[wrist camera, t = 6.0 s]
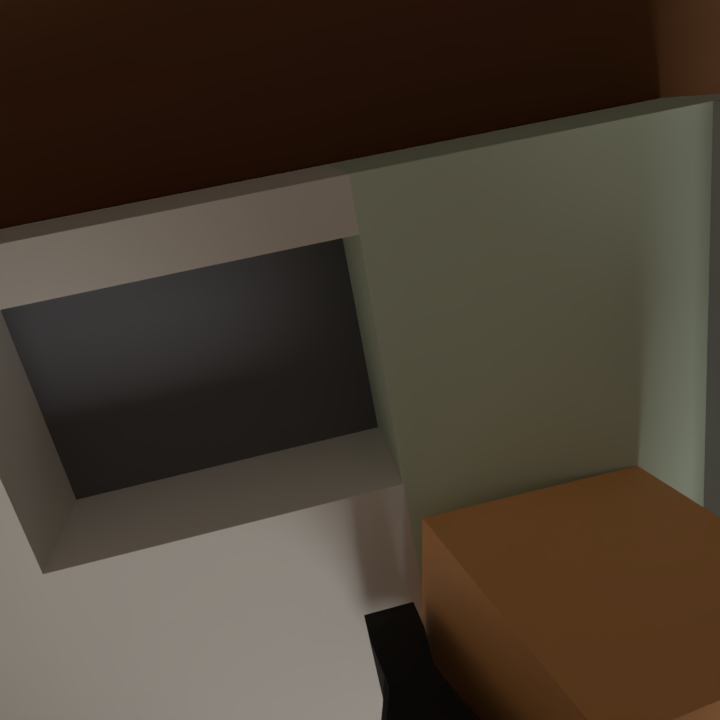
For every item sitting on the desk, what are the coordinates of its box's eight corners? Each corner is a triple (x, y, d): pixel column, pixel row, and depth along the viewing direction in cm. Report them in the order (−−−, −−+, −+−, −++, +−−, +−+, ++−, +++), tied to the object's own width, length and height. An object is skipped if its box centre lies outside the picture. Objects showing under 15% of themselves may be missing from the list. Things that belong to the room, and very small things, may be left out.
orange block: (611, 651, 15) (816, 863, 11) (420, 718, 14) (570, 1000, 9) (637, 465, 14) (894, 627, 9) (422, 518, 12) (608, 745, 8)
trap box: (663, 696, 21) (786, 861, 16) (-45, 905, 18) (-142, 1167, 14) (661, 97, 14) (869, 83, 9) (-437, 315, 12) (-869, 435, 7)
